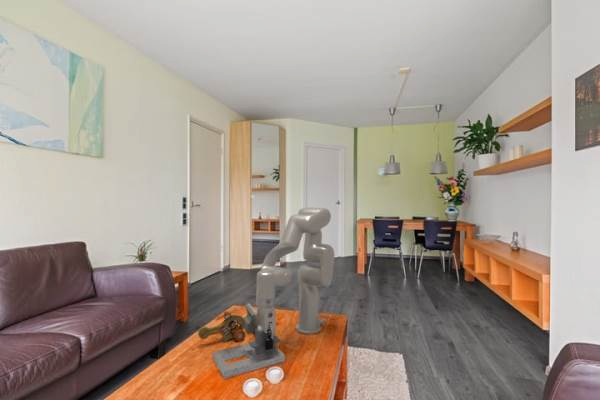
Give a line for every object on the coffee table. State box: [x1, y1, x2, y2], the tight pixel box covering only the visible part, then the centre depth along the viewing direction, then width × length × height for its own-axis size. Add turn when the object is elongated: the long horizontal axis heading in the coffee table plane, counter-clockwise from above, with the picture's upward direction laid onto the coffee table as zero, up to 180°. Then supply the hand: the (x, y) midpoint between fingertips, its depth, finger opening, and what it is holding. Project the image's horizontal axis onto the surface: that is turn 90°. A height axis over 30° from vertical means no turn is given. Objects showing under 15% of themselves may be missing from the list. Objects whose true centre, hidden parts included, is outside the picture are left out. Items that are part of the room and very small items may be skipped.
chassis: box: [212, 342, 286, 380], centre depth 117 cm, size 24×16×2 cm, turn 120°
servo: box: [248, 325, 282, 354], centre depth 120 cm, size 12×4×10 cm, turn 120°
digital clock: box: [243, 302, 258, 335], centre depth 145 cm, size 16×9×11 cm, turn 12°
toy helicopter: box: [197, 308, 246, 343], centre depth 131 cm, size 8×21×14 cm, turn 123°
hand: (264, 344), depth 120 cm, fingers open, 7 cm apart
